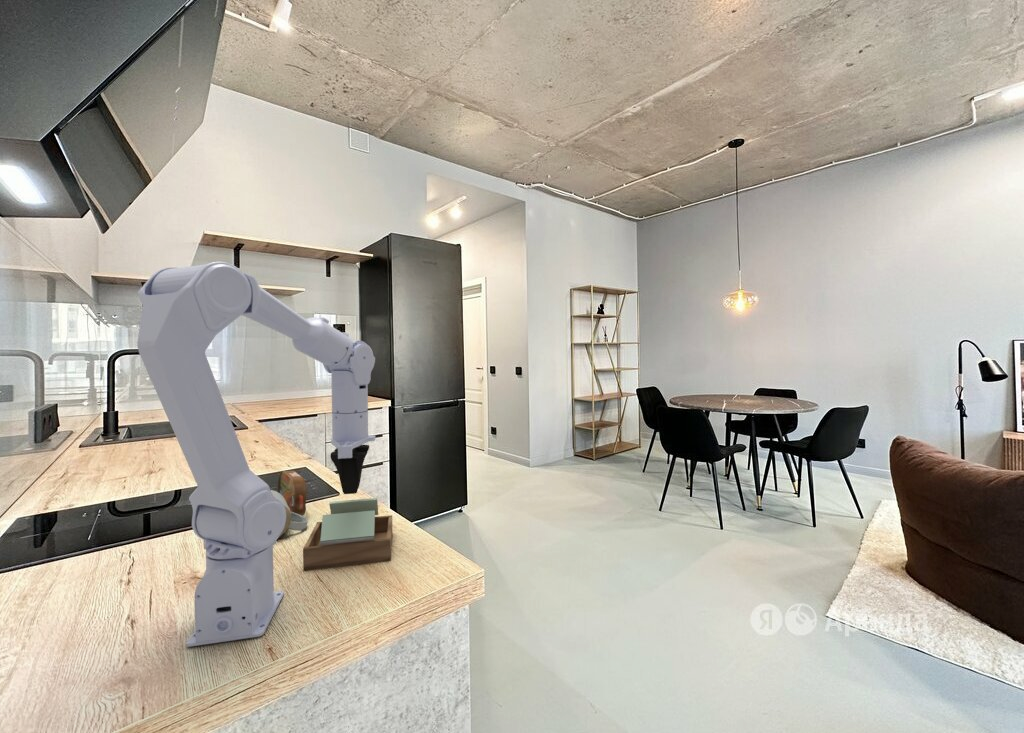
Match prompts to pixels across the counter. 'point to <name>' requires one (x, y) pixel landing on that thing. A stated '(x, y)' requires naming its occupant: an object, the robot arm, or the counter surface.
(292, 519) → the ceramic mug
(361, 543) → the crate
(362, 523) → the flap near
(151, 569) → the counter surface
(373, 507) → the flap far
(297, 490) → the tin
